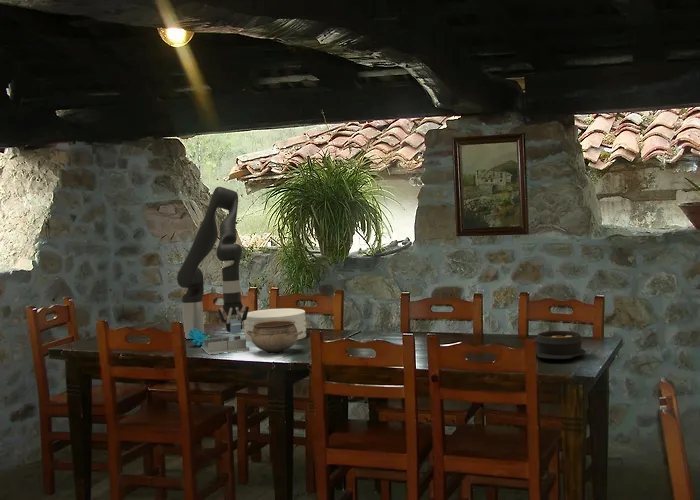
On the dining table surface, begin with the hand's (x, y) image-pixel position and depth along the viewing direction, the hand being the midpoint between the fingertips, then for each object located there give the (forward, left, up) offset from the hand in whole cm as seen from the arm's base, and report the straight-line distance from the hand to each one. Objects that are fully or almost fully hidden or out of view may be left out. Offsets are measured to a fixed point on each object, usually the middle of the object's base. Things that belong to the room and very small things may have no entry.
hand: (234, 331), depth 327 cm
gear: (-18, -12, -8) cm, 23 cm away
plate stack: (-18, +23, -8) cm, 30 cm away
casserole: (+89, +99, -8) cm, 134 cm away
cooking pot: (+18, +13, -8) cm, 23 cm away
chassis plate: (0, -4, -8) cm, 9 cm away
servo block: (0, 0, 0) cm, 0 cm away
